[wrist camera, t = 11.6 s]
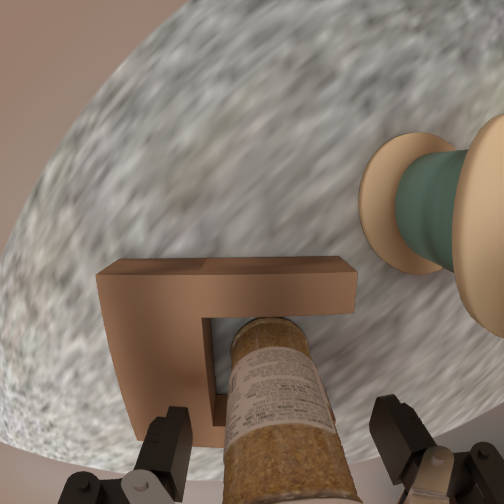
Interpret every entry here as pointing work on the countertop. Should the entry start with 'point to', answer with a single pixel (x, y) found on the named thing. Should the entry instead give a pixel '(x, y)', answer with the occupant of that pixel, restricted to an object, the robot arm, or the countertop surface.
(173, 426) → the robot arm
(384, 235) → the bobbin
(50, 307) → the countertop surface
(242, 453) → the sprinkles bottle
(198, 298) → the c-shaped block
